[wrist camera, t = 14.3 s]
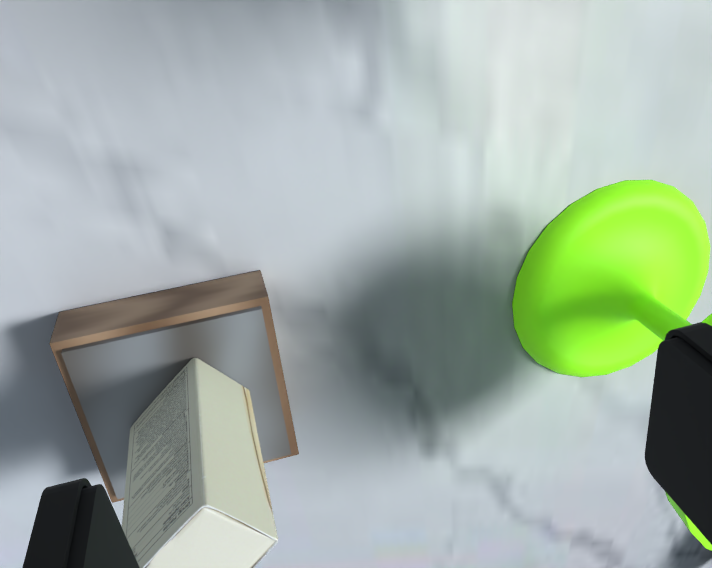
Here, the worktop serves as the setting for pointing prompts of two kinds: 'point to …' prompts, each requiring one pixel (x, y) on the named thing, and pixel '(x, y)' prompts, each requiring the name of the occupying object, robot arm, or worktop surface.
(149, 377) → the plinth
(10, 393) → the worktop surface
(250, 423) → the skincare box
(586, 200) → the wineglass
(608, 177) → the worktop surface
